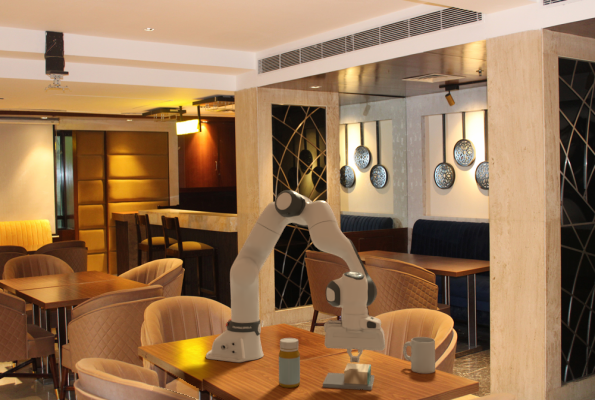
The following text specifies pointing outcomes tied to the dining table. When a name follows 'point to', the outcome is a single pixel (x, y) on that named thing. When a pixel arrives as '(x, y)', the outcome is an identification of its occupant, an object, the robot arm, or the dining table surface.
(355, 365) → the block
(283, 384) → the bottle
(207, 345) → the dining table surface
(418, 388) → the dining table surface
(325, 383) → the board
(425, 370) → the mug
